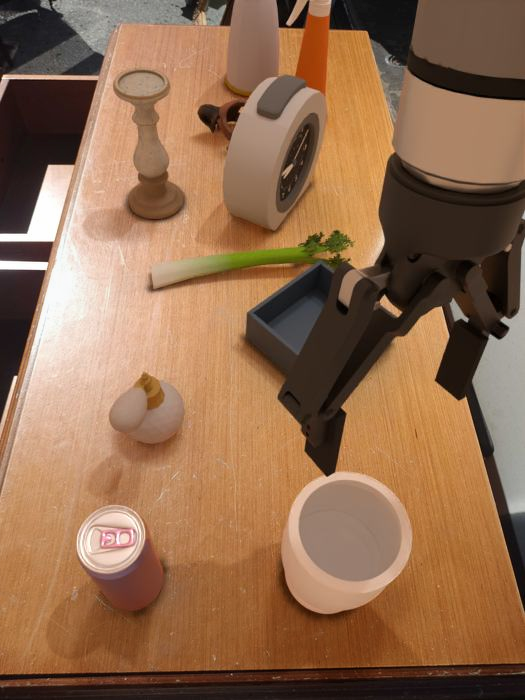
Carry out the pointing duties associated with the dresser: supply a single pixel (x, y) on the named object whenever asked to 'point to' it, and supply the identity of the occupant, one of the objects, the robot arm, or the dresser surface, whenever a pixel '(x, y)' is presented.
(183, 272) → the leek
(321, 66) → the spray bottle
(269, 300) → the tray
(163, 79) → the candle holder
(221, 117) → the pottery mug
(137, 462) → the dresser surface
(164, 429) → the perfume bottle
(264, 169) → the alarm clock
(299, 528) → the jar
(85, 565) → the beverage can
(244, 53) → the soap bottle
